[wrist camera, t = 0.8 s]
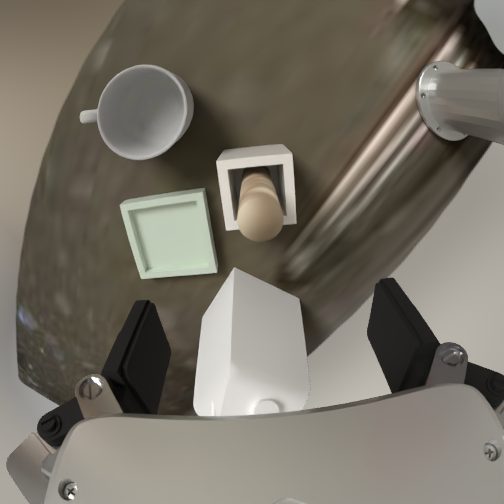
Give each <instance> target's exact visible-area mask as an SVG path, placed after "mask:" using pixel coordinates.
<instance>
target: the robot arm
mask: <svg viewBox="0 0 504 504" xmlns="http://www.w3.org/2000/svg"><path fill="white" fill-rule="evenodd" d="M416 100H417V105H418V109H419V112H420V114H421V116H422V118H423V120H424V122H425V123H426V125H427V126H428V128H429V129H430V130H431V131H432V132H433V133H435V134H436V135H437V136H439V137H441V138H443V139H446V140H451V141H457V140H461V139H463V138H465V137H466V136H468V135H471V136H475V137H479V138H482V139H486V140H489V141H493V142H496V143H500V144H503V145H504V69H462V70H461V69H460V68H459V67H457V66H456V65H454V64H452V63H449V62H445V61H437V62H432V63H430V64H428V65H427V66H425V67H424V68H423V70H422V71H421V73H420V74H419V77H418V80H417V84H416ZM367 336H368V339H369V341H370V343H371V345H372V348H373V350H374V352H375V354H376V357H377V359H378V361H379V364H380V366H381V368H382V371H383V373H384V375H385V378H386V380H387V383H388V385H389V387H390V390H391V392H392V394H388V395H384V396H379V397H374V398H370V399H365V400H360V401H356V402H350V403H345V404H340V405H334V406H328V407H321V408H314V409H307V410H299V411H291V412H281V413H270V414H256V415H237V416H174V415H157V411H158V407H159V402H160V398H161V393H162V389H163V385H164V381H165V376H166V372H167V368H168V364H169V360H170V356H171V349H170V346H169V343H168V341H167V338H166V335H165V333H164V330H163V327H162V324H161V321H160V319H159V316H158V313H157V310H156V307H155V305H154V303H151V302H150V301H149V300H138V301H136V302H135V303H134V305H133V307H132V309H131V311H130V313H129V315H128V317H127V320H126V322H125V324H124V326H123V328H122V330H121V331H120V333H119V334H118V336H117V339H116V341H115V343H114V345H113V347H112V350H111V352H110V354H109V356H108V359H107V361H106V363H105V365H104V368H103V370H102V372H101V375H97V374H94V375H89V376H86V377H84V378H83V379H82V380H81V381H80V382H79V383H78V384H77V386H76V390H75V394H76V397H75V398H73V399H71V400H70V401H68V402H66V403H64V404H62V405H61V406H59V407H57V408H55V409H54V410H52V411H50V412H48V413H46V414H45V415H44V416H42V418H41V419H40V420H39V422H38V426H37V431H38V432H37V433H36V434H34V433H32V434H31V435H30V436H29V437H28V438H27V439H25V440H24V442H23V443H21V444H20V445H19V446H18V447H17V448H16V449H15V450H14V451H13V452H12V453H11V454H10V456H9V457H8V458H7V462H6V466H7V470H8V472H9V474H10V475H11V477H12V478H13V480H14V482H15V483H16V485H17V486H18V488H19V489H20V491H21V492H22V494H23V495H24V496H25V498H26V499H27V501H28V502H29V503H30V504H504V375H502V374H500V373H498V372H495V371H492V370H490V369H487V368H484V367H481V366H479V365H476V364H473V363H470V362H468V355H467V353H466V351H465V350H464V349H463V348H462V347H461V346H460V345H458V344H456V343H451V342H447V343H443V344H440V343H439V341H438V340H437V338H436V337H435V335H434V334H433V332H432V331H431V329H430V328H429V326H428V325H427V323H426V322H425V320H424V319H423V317H422V316H421V315H420V313H419V312H418V310H417V309H416V307H415V306H414V305H413V304H412V302H411V301H410V300H409V298H408V297H407V295H406V294H405V293H404V292H403V290H402V289H401V287H400V286H399V285H398V283H397V282H396V280H395V279H394V278H385V279H380V281H379V283H376V285H375V291H374V297H373V303H372V308H371V314H370V319H369V324H368V328H367Z"/></svg>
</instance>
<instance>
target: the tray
mask: <svg viewBox="0 0 504 504" xmlns="http://www.w3.org/2000/svg"><path fill="white" fill-rule="evenodd" d="M120 208H121V212H122V216H123V220H124V223H125V227H126V231H127V234H128V238H129V241H130V245H131V248H132V251H133V255H134V258H135V261H136V264H137V267H138V270H139V273H140V277H141V279H146V278H159V277H172V276H184V275H196V274H208V273H217V270H218V261H217V255H216V250H215V244H214V238H213V233H212V227H211V221H210V215H209V209H208V203H207V197H206V191H205V188H200V189H192V190H185V191H178V192H172V193H165V194H159V195H153V196H147V197H141V198H135V199H129V200H125V201H124V202H123V203H122V204H120Z"/></svg>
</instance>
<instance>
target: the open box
mask: <svg viewBox="0 0 504 504" xmlns="http://www.w3.org/2000/svg"><path fill="white" fill-rule="evenodd" d="M216 164H217V171H218V178H219V185H220V192H221V199H222V206H223V213H224V219H225V226H226V230H236V229H239V227H238V224H237V216H238V207H239V199H240V190H241V182H242V174H243V170H244V169H245V168H246V167H255V166H266V167H267V168H268V169H269V171H270V174H271V178H272V181H273V184H274V187H275V190H276V194H277V197H278V200H279V203H280V206H281V210H282V213H283V218H284V222H283V225H288V224H297V222H296V203H295V185H294V170H293V156H292V153H291V152H290V151H289V150H288V149H287V148H286V147H285V146H284V145H283V144H277V145H265V146H254V147H244V148H236V149H227V150H224V151H223V152H222V153H221V155H220V156H219V158H218V159H217V161H216Z"/></svg>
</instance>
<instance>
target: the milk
mask: <svg viewBox="0 0 504 504" xmlns="http://www.w3.org/2000/svg"><path fill="white" fill-rule="evenodd" d="M309 393H310V379H309V371H308V362H307V353H306V345H305V337H304V329H303V322H302V315H301V307H300V300H299V298H297V297H295V296H292V295H290V294H288V293H286V292H284V291H282V290H280V289H278V288H276V287H274V286H272V285H270V284H268V283H266V282H263V281H261V280H259V279H257V278H255V277H253V276H251V275H249V274H247V273H245V272H243V271H241V270H239V269H237V268H235V267H234V269H233V270H232V272H231V273H230V275H229V276H228V278H227V279H226V281H225V283H224V284H223V286H222V287H221V289H220V290H219V292H218V294H217V295H216V297H215V298H214V300H213V301H212V303H211V305H210V306H209V308H208V309H207V311H206V313H205V314H204V316H203V318H202V326H201V334H200V343H199V352H198V361H197V370H196V380H195V391H194V409H195V411H196V413H197V414H198V415H199V416H237V415H256V414H270V413H281V412H291V411H299V410H302V409H303V407H304V405H305V403H306V401H307V399H308V396H309Z"/></svg>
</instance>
